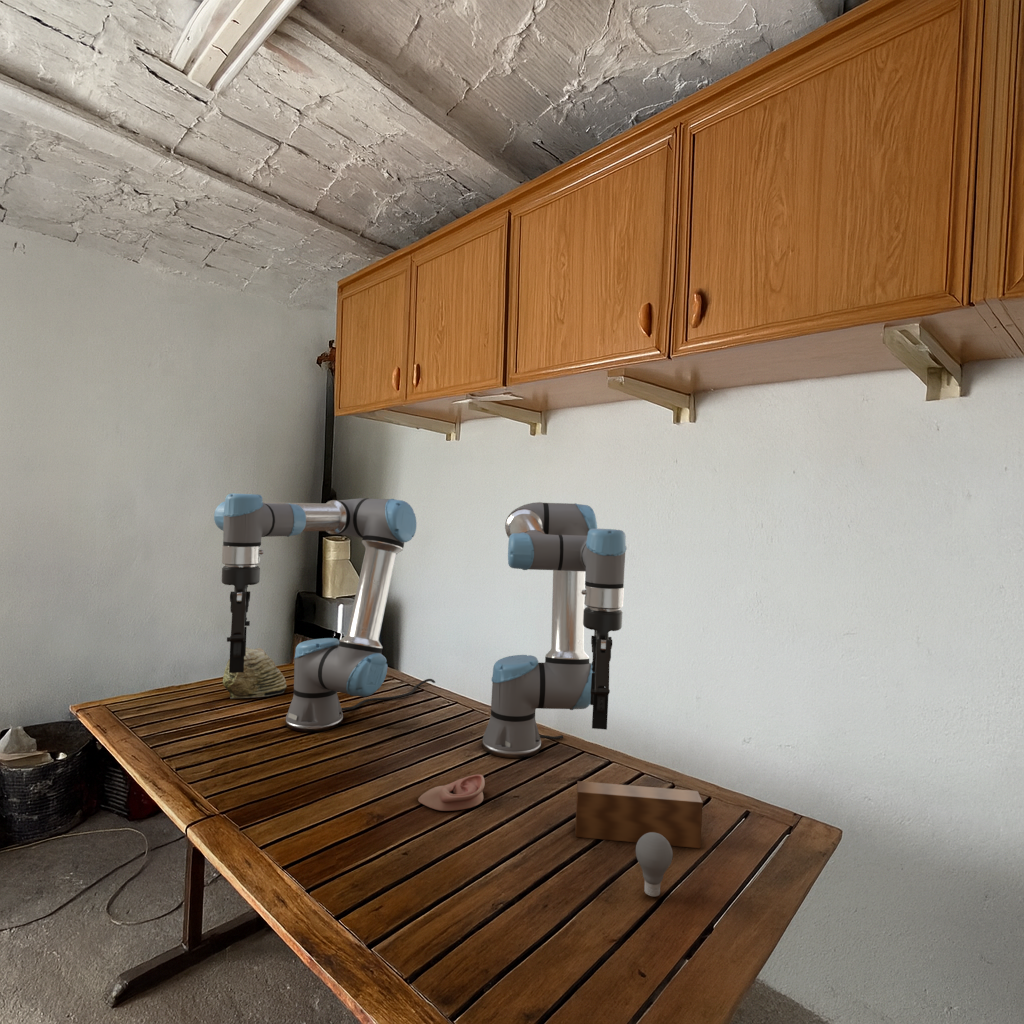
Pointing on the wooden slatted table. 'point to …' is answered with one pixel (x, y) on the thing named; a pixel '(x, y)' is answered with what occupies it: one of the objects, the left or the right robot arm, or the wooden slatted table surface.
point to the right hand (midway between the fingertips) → (598, 716)
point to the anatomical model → (455, 794)
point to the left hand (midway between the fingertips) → (237, 663)
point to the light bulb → (653, 860)
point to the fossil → (255, 677)
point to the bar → (638, 813)
